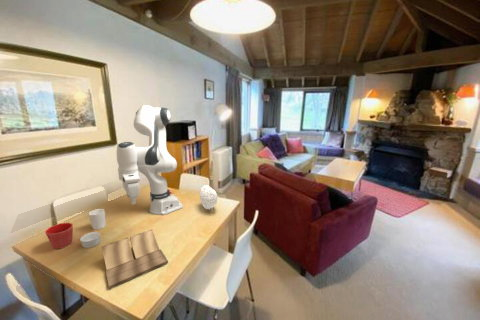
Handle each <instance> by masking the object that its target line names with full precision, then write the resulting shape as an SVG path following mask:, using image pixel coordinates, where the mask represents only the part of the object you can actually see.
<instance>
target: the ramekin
mask: <svg viewBox="0 0 480 320" xmlns="http://www.w3.org/2000/svg"><path fill="white" fill-rule="evenodd" d="M79 241H80V242H81V243H80V244H81V245H82V247H83V248H85V249H87V248H88V249H89V248H92V247H95V246H97V245H98V244H99V243H100V242H101V233H100V232H99V231H92V232H91V231H90V232H87V233H86V234H84V235H82V236H81V237H80V238H79Z"/></svg>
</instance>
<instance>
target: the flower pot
mask: <svg viewBox="0 0 480 320" xmlns="http://www.w3.org/2000/svg"><path fill="white" fill-rule="evenodd" d="M73 228H74V224H73V223H71V222H62V223H57V224H55V225H52V226H50V227H48V228H47V229H46V230H45V232H44V234H45V235H46V237H47V239H48V241H49V242H50V245H51V246H52V248H53V249H55V250H59V249H63V248H65V247H68V246H69V245H71V243H72V242H73V231H74V229H73Z"/></svg>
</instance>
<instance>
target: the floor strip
mask: <svg viewBox="0 0 480 320" xmlns="http://www.w3.org/2000/svg"><path fill="white" fill-rule="evenodd" d="M167 263H168V264H169V260H168V259H167V256H166V255H165V254H164V252H163V251H162V250H161V249H160V248H159V250H158V251H155V252H153V253H150V254H148V255H145V256H143V257H140V258H138V259H134V260H133V261H130V262H128V263H125V264H123V265H120V266H117V267H115V268H112V269H110V270H105V276H106V280H107V285H108V289H109V290H112V289H113V288H116V287H118V286H120V285H122V284H125V283H127V282H129V281H131V280H133V279H136V278H138V277H141V276H143V275H145V274H147V273H149V272H152V271H154V270H157V269H159V268H161V267H162V266H165V265H167Z"/></svg>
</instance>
